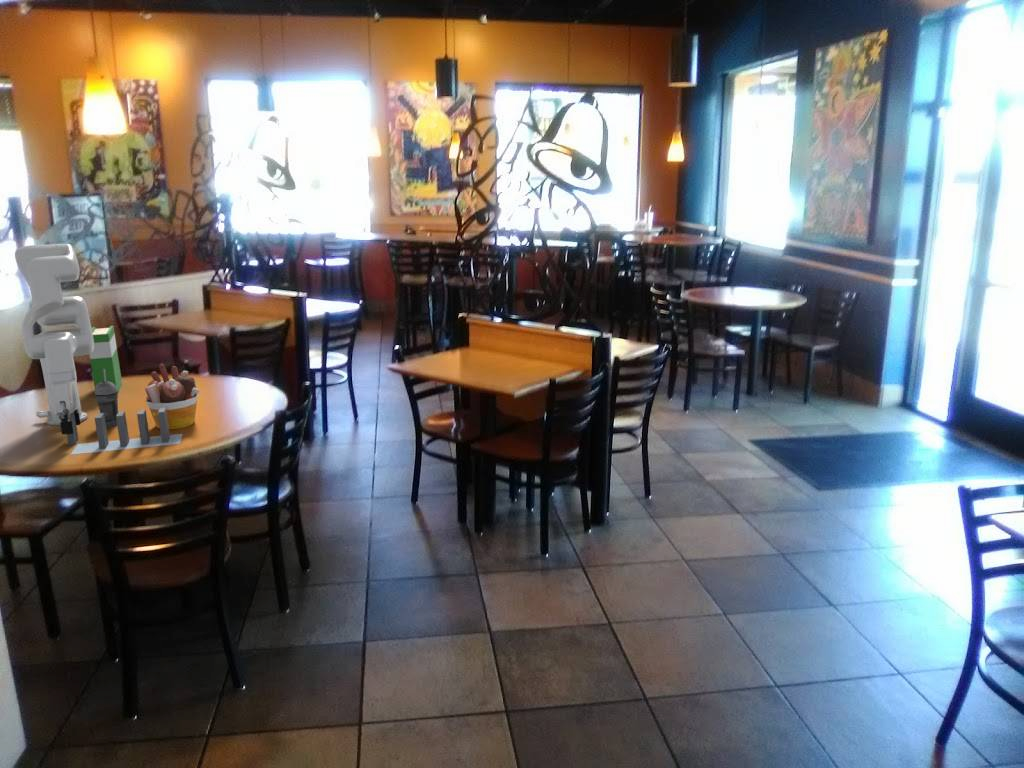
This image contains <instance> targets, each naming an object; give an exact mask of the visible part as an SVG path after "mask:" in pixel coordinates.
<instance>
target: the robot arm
mask: <svg viewBox="0 0 1024 768" xmlns="http://www.w3.org/2000/svg"><path fill="white" fill-rule="evenodd" d="M14 258H15V261H16V266H17V268H18V269H19V270H18V271H19V272H20V273H21V275H22V277H23V278H24V280H25V281H26V283H27V285H28V287H29V290H30V295H31V301H32V306H31V307H30V309H29V310H28V311H27V312H26V313H25V315H24V318H23V321H22V325H21V332H22V338H23V339H22V340H23V345H24V346H23V347H24V350H25V353H26V355H27V356H28V357H29V358H30V359H33V360H39V362H40V365H41V370H42V374H43V381H44V386H45V390H46V391H45V392H46V398H47V402H48V403H47V404H48V409H46V410H37V411H36V413H35V414H36V417H39V418H46V420H45V422H46V424H47V425H50V426H60V430H61V435H62V436H65V435H67V434H73V433H74V431H73V425H72V421H70V419H71V414H72V413H73V412H74V415H75V421H76V426H80V425H81V423H82V422H83V421H85V420H86V419H88V417H89V416H88V413H87V412H85V411H82V405H81V399H80V393H79V392H80V391H79V387H78V382H77V380H78V377H77V370H76V366H75V359H74V357H78V356H79V357H81V356H87V355H89V354H90V353H92V352H93V350H94V339H93V334H92V325H91V324H92V323H91V320H90V314H89V309H88V305H87V303H86V300H85V299H84V298H83V297H80V296H79V295H78V296H77V295H72V296H64V295H63V290H62V286H61V284H62V283H65V282H75V281H77V280H79V278H80V264H79V260H78V257H77V254H76V251H75V249H74V247H73V246H72V245H71V244H69V243H52V244H32V245H25V246H21V247H19V248H17V249H15V252H14ZM35 323H37V324H38V325H40V326H41V327H47V328H48V327H59V326H67V325H69V326H70V325H73V326H75V327H73V328H72V327H71V328H64V329H63V328H62V329H60V328H59V329H53V330H52V329H51V330H45V331H43V332H42V331H41V332H40V333H38V334H33V327H34V324H35ZM66 415H68V417H67V416H66Z"/></svg>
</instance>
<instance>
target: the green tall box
mask: <svg viewBox="0 0 1024 768" xmlns="http://www.w3.org/2000/svg"><path fill="white" fill-rule="evenodd" d="M114 327H115V326H114V325H110V326H109V327H103V328H102V327H101V328H96V326H93V327H92V326H91V328H92V334H93V339H94V350H93V352H92V353H90V354H88V355H89V360H90V361H89V362H90V367H91V372H92V378H93V386H94V389H95V388H96V386H97V385H98V384H99V383H100V382H102V381H105V380H104V370H103V369H105V374H106V381H110V382H112V383H113V384H114V385H115V386H116V387H117V390H118V394H119V393H120V390H121V389H122V388H121V387H122V385H123V380H122V374H121V368H120V360H119V354H118V348H117V347H118V346H117V341H116V334H115V328H114Z"/></svg>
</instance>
